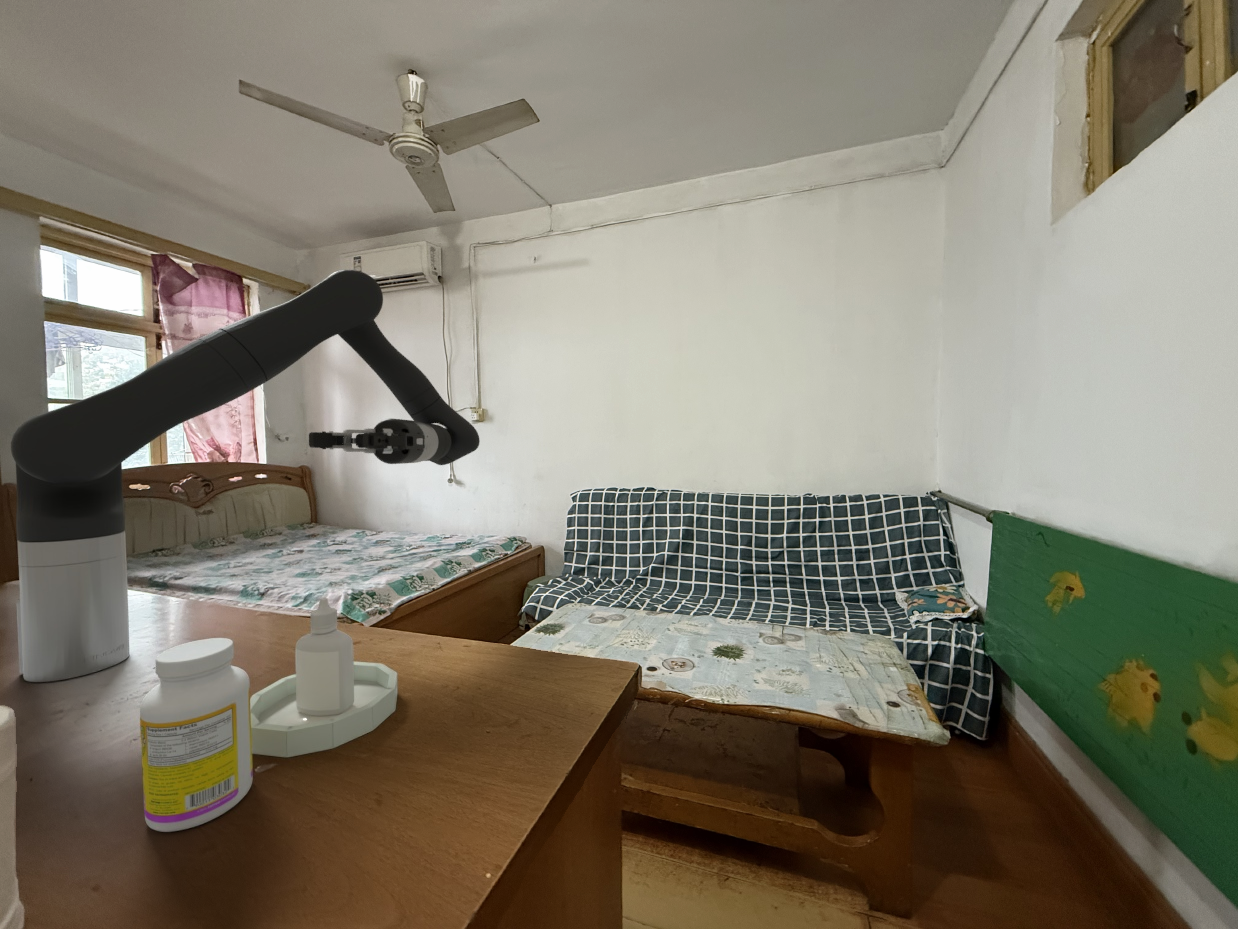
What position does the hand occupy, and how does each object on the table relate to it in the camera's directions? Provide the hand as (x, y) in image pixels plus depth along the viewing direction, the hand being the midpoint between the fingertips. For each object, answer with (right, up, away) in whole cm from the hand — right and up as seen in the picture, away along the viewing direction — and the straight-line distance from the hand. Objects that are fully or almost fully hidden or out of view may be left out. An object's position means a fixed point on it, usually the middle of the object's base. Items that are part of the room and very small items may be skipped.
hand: (338, 440), depth 67 cm
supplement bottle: (+5, -31, -28) cm, 42 cm away
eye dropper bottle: (+7, -30, -15) cm, 34 cm away
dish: (+7, -31, -15) cm, 35 cm away
